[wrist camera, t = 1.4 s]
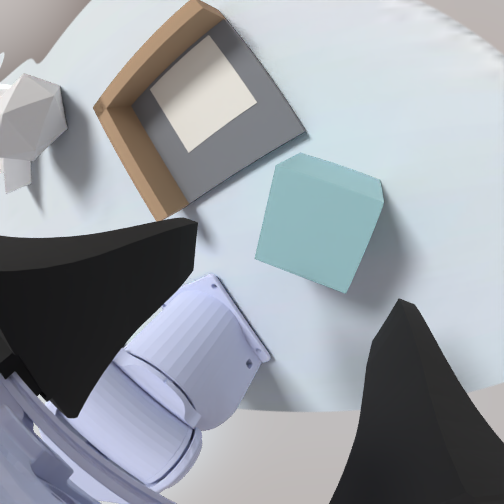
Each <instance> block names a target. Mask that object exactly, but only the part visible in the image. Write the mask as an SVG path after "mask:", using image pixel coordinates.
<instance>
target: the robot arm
mask: <svg viewBox="0 0 504 504" xmlns="http://www.w3.org/2000/svg"><path fill="white" fill-rule="evenodd" d="M197 226H198V223H197V222H195V221H192V220H189V219H186V218H174V219H167V220H162V221H157V222H152V223H147V224H143V225H138V226H133V227H129V228H123V229H118V230H113V231H108V232H102V233H96V234H89V235H81V236H72V237H55V238H18V237H7V236H0V504H101V503H100V502H98V501H106V502H113V503H119V504H177V503H175V502H173V501H171V500H169V499H167V498H165V497H164V496H162V495H160V494H159V493H160V492H162V491H163V490H165V489H167V488H170V487H172V486H173V485H175V484H176V483H178V482H179V481H180V480H181V479H182V478H183V477H184V476H185V475H186V474H187V473H188V472H189V470H190V469H191V468H192V466H193V465H194V463H195V461H196V460H197V458H198V456H199V454H200V451H201V448H202V433H201V431H206V430H210V429H213V428H216V427H217V426H219V425H221V424H222V423H224V422H225V421H226V420H227V419H228V418H230V417H231V415H232V414H233V413H234V412H235V411H236V409H237V408H238V406H239V404H240V402H241V401H242V399H243V397H244V395H245V393H246V391H247V390H248V388H249V386H250V384H251V382H252V380H253V378H254V376H255V375H256V373H257V371H258V369H259V367H260V365H261V363H263V362H268V361H269V360H270V358H271V356H270V354H269V353H268V351H267V350H266V349H265V347H264V346H263V344H262V343H261V341H260V340H259V339H258V337H257V336H256V334H255V333H254V331H253V330H252V329H251V327H250V326H249V324H248V323H247V321H246V320H245V318H244V317H243V315H242V314H241V313H240V311H239V310H238V308H237V307H236V305H235V304H234V302H233V301H232V299H231V298H230V296H229V295H228V293H227V292H226V290H225V289H224V287H223V286H222V284H221V283H220V281H219V280H218V278H217V277H216V276H215V275H213V274H209V275H207V276H205V277H202V278H200V279H198V280H195V281H193V282H191V283H188V284H186V285H184V286H182V284H183V283H184V282H185V281H186V279H187V278H188V277H189V275H190V274H191V273H192V271H193V268H194V257H195V246H196V236H197ZM214 284H215V285H216V286H217V287H216V286H214ZM181 286H182V287H181ZM160 307H162V308H163V310H162V311H161V312H160V313H159V314H158V315H157V316H156V317H155V318H154V319H153V320H152V321H151V322H150V323H149V324H148V325H147V326H146V327H145V328H144V329H143V330H142V331H141V332H140V333H139V334H138V335H137V336H136V337H135V338H133V339H132V340H131V341H130V342H129V343H128V344H127V345H126V346H125V347H124V348H122V347H123V346H124V345H125V343H126V342H127V341H128V340H129V338H130V337H131V336H132V335H133V334H134V333H135V332H136V330H137V329H138V328H139V327H140V326H141V325H142V324H143V323H144V322H145V321H146V320H147V319H149V318H150V317H151V316H152V315H153V314H154V313H155V312H156V311H157V310H158V309H159V308H160ZM39 394H40V395H41V396H42V397H43V398H44V399H45V400H46V403H45V404H43V403H42V402H41V400H40V399H39V398H38V397H37V396H38V395H39ZM33 422H34V423H35V424H36V425H37V426H38V428H39V431H40V434H41V438H42V439H41V438H40V437H39V436H38V435H36V434H35V433H34V431H33V426H34V424H33ZM329 504H504V443H503V442H502V441H501V439H500V438H499V437H498V436H497V435H496V433H495V432H494V431H493V430H492V428H491V427H490V426H489V425H488V423H487V422H486V421H485V419H484V418H483V416H482V415H481V414H480V412H479V411H478V410H477V408H476V407H475V405H474V404H473V403H472V401H471V399H470V398H469V396H468V395H467V393H466V392H465V390H464V389H463V387H462V386H461V384H460V382H459V381H458V379H457V377H456V376H455V374H454V372H453V370H452V369H451V367H450V365H449V364H448V362H447V360H446V358H445V356H444V355H443V353H442V351H441V349H440V347H439V346H438V344H437V342H436V340H435V338H434V336H433V335H432V333H431V331H430V329H429V327H428V325H427V324H426V322H425V320H424V318H423V317H422V315H421V313H420V312H419V310H418V309H417V307H416V306H415V305H414V304H412V303H410V302H407V301H404V300H402V299H398V301H397V302H396V304H395V306H394V308H393V309H392V311H391V313H390V314H389V316H388V317H387V319H386V321H385V322H384V324H383V326H382V327H381V329H380V330H379V332H378V333H377V335H376V336H375V338H374V339H373V341H372V345H371V349H370V353H369V357H368V362H367V366H366V374H365V383H364V390H363V398H362V405H361V412H360V419H359V424H358V429H357V433H356V437H355V440H354V443H353V446H352V449H351V453H350V455H349V458H348V461H347V464H346V466H345V469H344V472H343V474H342V477H341V479H340V481H339V484H338V486H337V488H336V490H335V492H334V494H333V497H332V499H331V501H330V503H329Z"/></svg>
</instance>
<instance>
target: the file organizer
mask: <svg viewBox="0 0 504 504" xmlns="http://www.w3.org/2000/svg"><path fill="white" fill-rule="evenodd" d="M10 87H11V85H5V84H0V98H1V96H2V95H3V94H4V93H5V92H6V91H7V90H8V89H9V88H10ZM0 173H4V180H5V192H6V194H8V193H10V192H12V191H15V190H17V189H19V188H22V187H24V186H26V185H29V184H31V161H28V160H19V159H9V158H0Z"/></svg>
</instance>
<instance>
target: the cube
mask: <svg viewBox="0 0 504 504" xmlns="http://www.w3.org/2000/svg"><path fill="white" fill-rule="evenodd" d="M383 204H384V199H383V193H382V188H381V182H380V180H379V179H377V178H374V177H371V176H369V175H366V174H363V173H361V172H358V171H355V170H352V169H349V168H346V167H344V166H341V165H338V164H335V163H332V162H329V161H326V160H322V159H319V158H316V157H313V156H310V155H306V154H303V153H299V154H297V155H295V156H293V157H291V158H289V159H287V160H285V161H283V162H281V163H279V164H278V165H276V167H275V171H274V176H273V180H272V184H271V189H270V193H269V198H268V202H267V207H266V211H265V215H264V220H263V224H262V229H261V233H260V237H259V242H258V246H257V250H256V255H255V259H256V260H259V261H261V262H264V263H267V264H269V265H272V266H274V267H277V268H280V269H282V270H285V271H287V272H290V273H293V274H295V275H298V276H300V277H303V278H306V279H308V280H311V281H313V282H316V283H319V284H321V285H324V286H327V287H329V288H332V289H334V290H337V291H340V292H342V293H345V294H346V293H347V290H348V288H349V286H350V284H351V282H352V280H353V277H354V275H355V273H356V271H357V268H358V266H359V264H360V262H361V259H362V257H363V255H364V252H365V250H366V248H367V245H368V243H369V240H370V238H371V235H372V233H373V230H374V228H375V225H376V223H377V220H378V218H379V215H380V212H381V210H382V207H383Z"/></svg>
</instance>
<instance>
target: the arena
mask: <svg viewBox="0 0 504 504" xmlns="http://www.w3.org/2000/svg"><path fill="white" fill-rule="evenodd" d="M93 109H94V111H95V113H96V115H97V117H98V119H99V121H100V123H101V125H102V127H103V128H104V130H105V132H106V134H107V136H108V138H109V140H110V142H111V144H112V145H113V147H114V149H115V151H116V153H117V155H118V156H119V158H120V160H121V162H122V164H123V165H124V167H125V169H126V171H127V172H128V174H129V176H130V178H131V179H132V181H133V183H134V185H135V186H136V188H137V190H138V191H139V193H140V195H141V197H142V198H143V200H144V202H145V203H146V205H147V207H148V208H149V210H150V212H151V213H152V215H153V217H154V218H155V220H156V221H162V220H164V219H166V218H167V217H169V216H171V215H173V214H174V213H176V212H178V211H180V210H181V209H183V208H184V207H186V206H187V205H189V204H190V203H192V202H193V201H195V200H196V199H198V198H199V197H200V196H202V195H203V194H205V193H206V192H208V191H209V190H211V189H212V188H214V187H215V186H217V185H218V184H220V183H222V182H223V181H225V180H226V179H228V178H229V177H231V176H232V175H234V174H235V173H237V172H239V171H240V170H242V169H243V168H245V167H247V166H248V165H250V164H251V163H253V162H255V161H256V160H258V159H260V158H261V157H263V156H264V155H266V154H268V153H269V152H271V151H273V150H274V149H276V148H278V147H280V146H281V145H283V144H285V143H286V142H288V141H290V140H292V139H293V138H295V137H297V136H299V135H300V134H302V133H304V132H306V130H305V129H304V127H303V125H302V124H301V122H300V121H299V119H298V117H297V116H296V114H295V113H294V111H293V110H292V108H291V106H290V105H289V103H288V102H287V100H286V99H285V97H284V96H283V94H282V93H281V91H280V90H279V88H278V87H277V86H276V84H275V83H274V81H273V80H272V78H271V77H270V76H269V74H268V73H267V71H266V70H265V69H264V67H263V66H262V64H261V63H260V62H259V60H258V59H257V58H256V56H255V55H254V54H253V52H252V51H251V50H250V48H249V47H248V46H247V44H246V43H245V42H244V41H243V39H242V38H241V37H240V36H239V34H238V33H237V32H236V31H235V29H234V28H233V27H232V26H231V24H230V23H229V22H228V21H227V20H226V18H225V17H224V16H223V15H222V14H221V13H220V11H219V10H218V9H216V8H214V7H212V6H210V5H208V4H206V3H204V2H202V1H200V0H190V1H188V2H187V3H186V4H185V5H184V6H183V7H181V8H180V9H179V10H178V11H177V12H176V13H175V14H174V15H173V16H171V17H170V18H169V19H168V20H167V21H166V22H165V23H164V24H163V25H162V26H161V27H160V28H159V29H158V30H157V31H156V32H155V33H154V34H153V35H152V36H151V37H150V38H149V39H148V40H147V41H146V42H145V43H144V45H143V46H142V47H141V48H140V49H139V50H138V51H137V52H136V53H135V54H134V56H133V57H132V58H131V59H130V60H129V61H128V62H127V64H126V65H125V66H124V67H123V68H122V70H121V71H120V72H119V73H118V75H117V76H116V77H115V78H114V80H113V81H112V82H111V83H110V85H109V86H108V87H107V89H106V90H105V91H104V93H103V94H102V95H101V97H100V98H99V100H98V101H97V102H96V104H95V105H94V107H93Z"/></svg>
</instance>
